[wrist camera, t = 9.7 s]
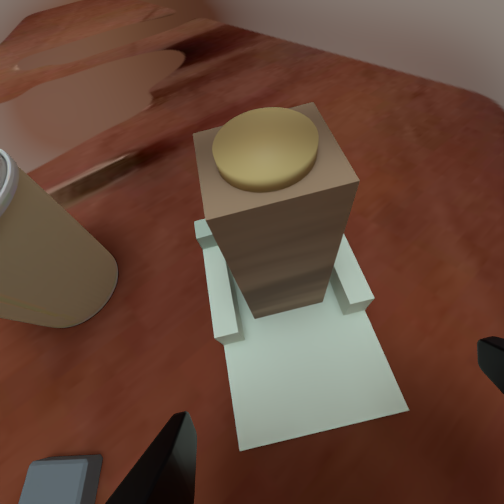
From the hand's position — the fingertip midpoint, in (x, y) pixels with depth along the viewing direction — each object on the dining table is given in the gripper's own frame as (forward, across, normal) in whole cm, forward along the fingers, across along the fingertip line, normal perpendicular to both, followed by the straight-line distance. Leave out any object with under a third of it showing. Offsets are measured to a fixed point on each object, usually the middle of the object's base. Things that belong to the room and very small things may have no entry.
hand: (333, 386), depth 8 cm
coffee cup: (+16, +18, -2) cm, 24 cm away
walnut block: (+12, 0, +1) cm, 12 cm away
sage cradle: (+11, 0, +4) cm, 12 cm away
